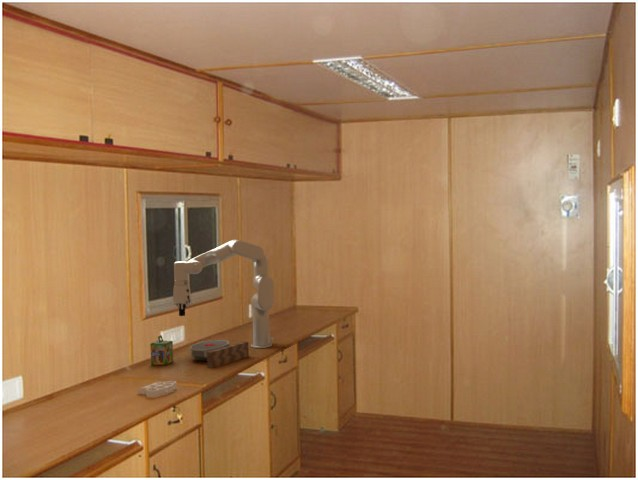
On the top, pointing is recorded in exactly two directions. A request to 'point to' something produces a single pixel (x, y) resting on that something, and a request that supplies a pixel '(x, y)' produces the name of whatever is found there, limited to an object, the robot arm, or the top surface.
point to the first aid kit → (206, 348)
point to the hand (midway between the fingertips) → (182, 315)
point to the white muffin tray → (158, 389)
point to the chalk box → (161, 352)
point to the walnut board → (227, 354)
